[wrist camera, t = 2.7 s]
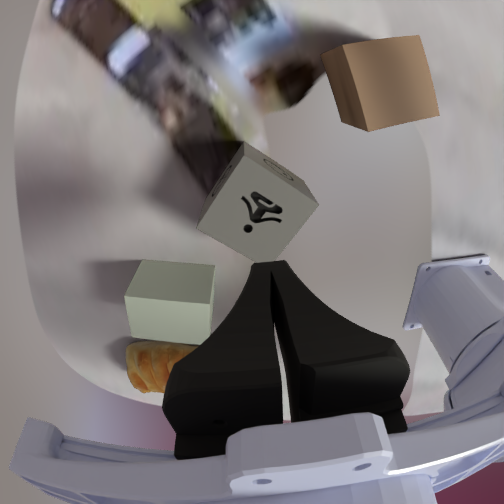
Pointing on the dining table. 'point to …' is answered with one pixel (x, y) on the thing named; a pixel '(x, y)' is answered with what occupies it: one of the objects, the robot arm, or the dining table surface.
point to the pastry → (153, 363)
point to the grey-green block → (171, 301)
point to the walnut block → (381, 82)
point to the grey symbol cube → (256, 206)
